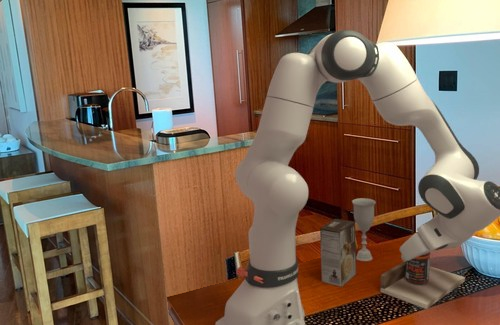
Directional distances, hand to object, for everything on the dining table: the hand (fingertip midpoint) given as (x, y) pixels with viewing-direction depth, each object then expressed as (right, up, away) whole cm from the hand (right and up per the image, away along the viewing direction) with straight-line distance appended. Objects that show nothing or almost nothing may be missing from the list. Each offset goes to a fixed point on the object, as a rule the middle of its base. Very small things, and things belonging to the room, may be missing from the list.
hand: (415, 253), depth 129 cm
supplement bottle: (+1, -8, +1) cm, 8 cm away
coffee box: (-19, -8, +8) cm, 22 cm away
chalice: (-9, -5, +20) cm, 23 cm away
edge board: (+2, -9, 0) cm, 9 cm away
